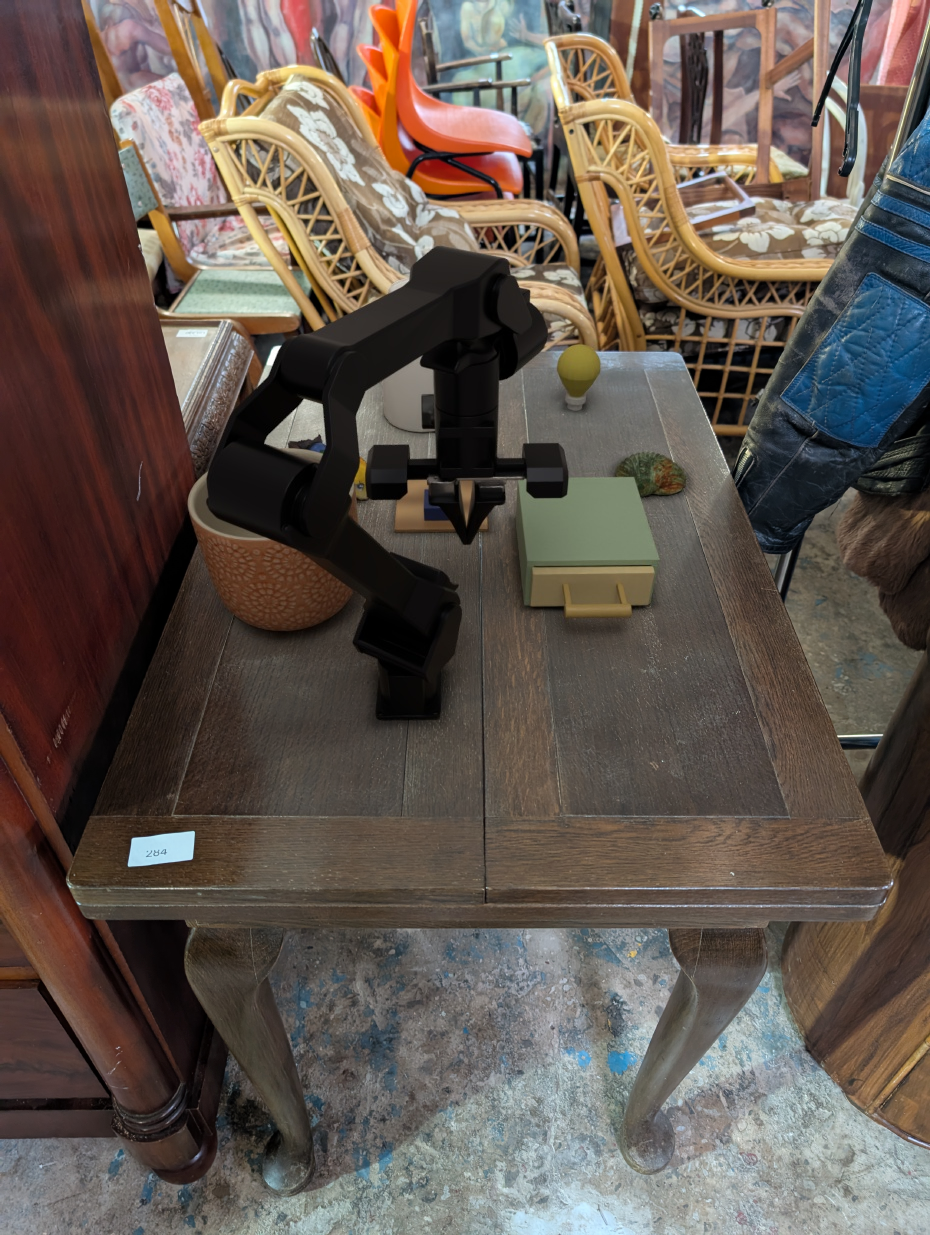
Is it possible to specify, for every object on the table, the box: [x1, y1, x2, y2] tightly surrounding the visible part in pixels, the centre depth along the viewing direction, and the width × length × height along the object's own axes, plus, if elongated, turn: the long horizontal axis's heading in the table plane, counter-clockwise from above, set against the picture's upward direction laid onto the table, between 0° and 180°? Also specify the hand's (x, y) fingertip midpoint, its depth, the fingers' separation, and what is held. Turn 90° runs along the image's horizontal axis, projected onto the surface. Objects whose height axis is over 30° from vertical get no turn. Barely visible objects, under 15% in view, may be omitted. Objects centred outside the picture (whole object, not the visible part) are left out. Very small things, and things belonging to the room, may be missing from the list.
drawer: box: [529, 565, 655, 619], centre depth 92 cm, size 20×13×5 cm, turn 1°
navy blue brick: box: [424, 489, 449, 521], centre depth 106 cm, size 10×4×2 cm, turn 1°
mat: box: [393, 480, 489, 534], centre depth 106 cm, size 12×12×1 cm
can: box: [381, 277, 435, 433], centre depth 118 cm, size 12×12×20 cm
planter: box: [187, 447, 359, 632], centre depth 87 cm, size 17×17×15 cm
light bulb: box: [556, 343, 602, 412], centre depth 123 cm, size 7×7×10 cm
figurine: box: [287, 432, 369, 501], centre depth 107 cm, size 11×8×6 cm, turn 41°
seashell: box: [614, 451, 687, 498], centre depth 110 cm, size 10×4×10 cm
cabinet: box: [515, 476, 661, 606], centre depth 95 cm, size 17×15×7 cm
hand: (466, 542), depth 81 cm, fingers closed
